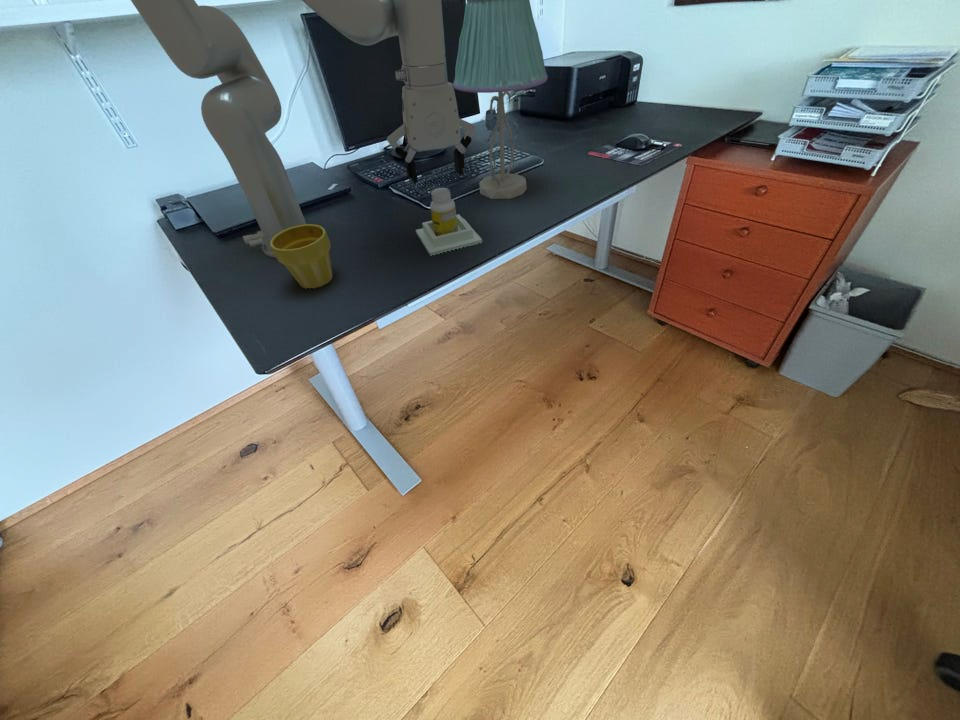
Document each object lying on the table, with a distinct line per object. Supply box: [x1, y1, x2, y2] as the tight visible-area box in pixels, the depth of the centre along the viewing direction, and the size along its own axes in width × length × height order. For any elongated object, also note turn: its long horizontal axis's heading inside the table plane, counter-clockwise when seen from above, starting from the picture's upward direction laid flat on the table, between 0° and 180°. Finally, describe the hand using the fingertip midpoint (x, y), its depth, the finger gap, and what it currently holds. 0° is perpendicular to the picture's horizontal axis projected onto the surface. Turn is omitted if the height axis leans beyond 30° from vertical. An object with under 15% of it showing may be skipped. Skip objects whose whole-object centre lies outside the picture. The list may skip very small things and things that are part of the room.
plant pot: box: [270, 223, 334, 290], centre depth 79 cm, size 10×10×10 cm
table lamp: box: [452, 0, 549, 200], centre depth 96 cm, size 22×22×40 cm
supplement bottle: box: [429, 187, 458, 236], centre depth 88 cm, size 5×5×10 cm
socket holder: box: [415, 214, 483, 257], centre depth 91 cm, size 12×12×3 cm
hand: (436, 176), depth 82 cm, fingers open, 9 cm apart
